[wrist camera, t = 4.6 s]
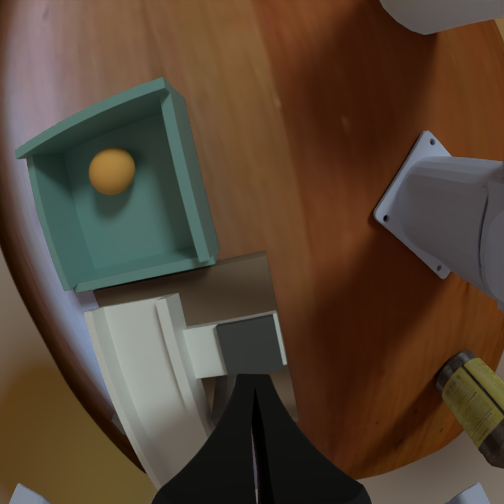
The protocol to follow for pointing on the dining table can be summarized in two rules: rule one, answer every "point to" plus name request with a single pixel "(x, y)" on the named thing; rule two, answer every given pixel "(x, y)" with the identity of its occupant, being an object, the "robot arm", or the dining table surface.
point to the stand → (213, 312)
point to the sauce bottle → (475, 402)
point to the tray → (174, 372)
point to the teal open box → (127, 202)
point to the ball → (112, 170)
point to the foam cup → (441, 13)
